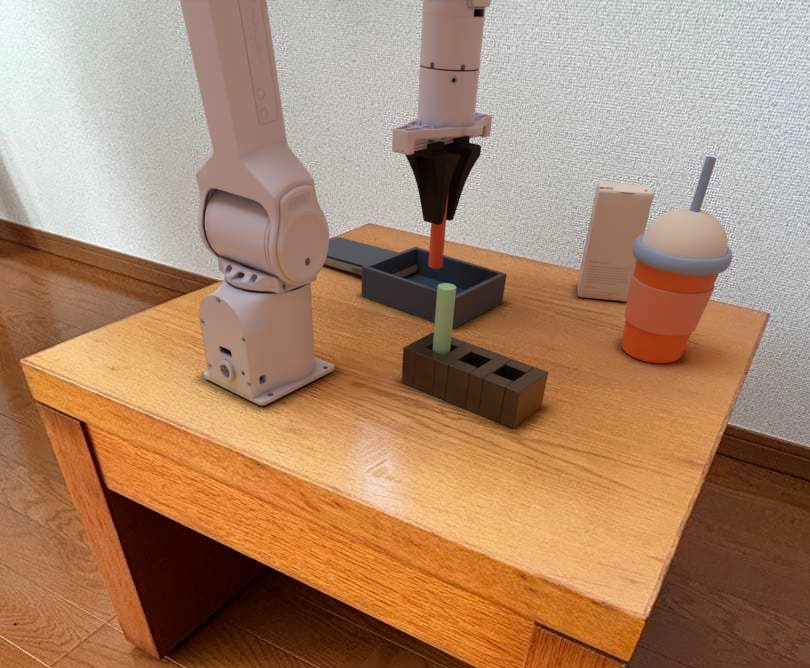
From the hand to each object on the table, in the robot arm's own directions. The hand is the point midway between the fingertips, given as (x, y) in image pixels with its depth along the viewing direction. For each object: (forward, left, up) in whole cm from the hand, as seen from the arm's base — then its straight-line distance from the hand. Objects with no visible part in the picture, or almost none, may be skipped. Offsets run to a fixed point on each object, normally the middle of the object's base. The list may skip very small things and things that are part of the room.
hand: (438, 220), depth 71 cm
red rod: (0, 0, -5) cm, 5 cm away
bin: (0, 0, -9) cm, 9 cm away
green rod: (-16, -12, -9) cm, 22 cm away
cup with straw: (+5, -25, -9) cm, 27 cm away
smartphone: (+2, +13, -9) cm, 16 cm away
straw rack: (-16, -16, -9) cm, 24 cm away
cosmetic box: (+16, -14, -9) cm, 23 cm away
